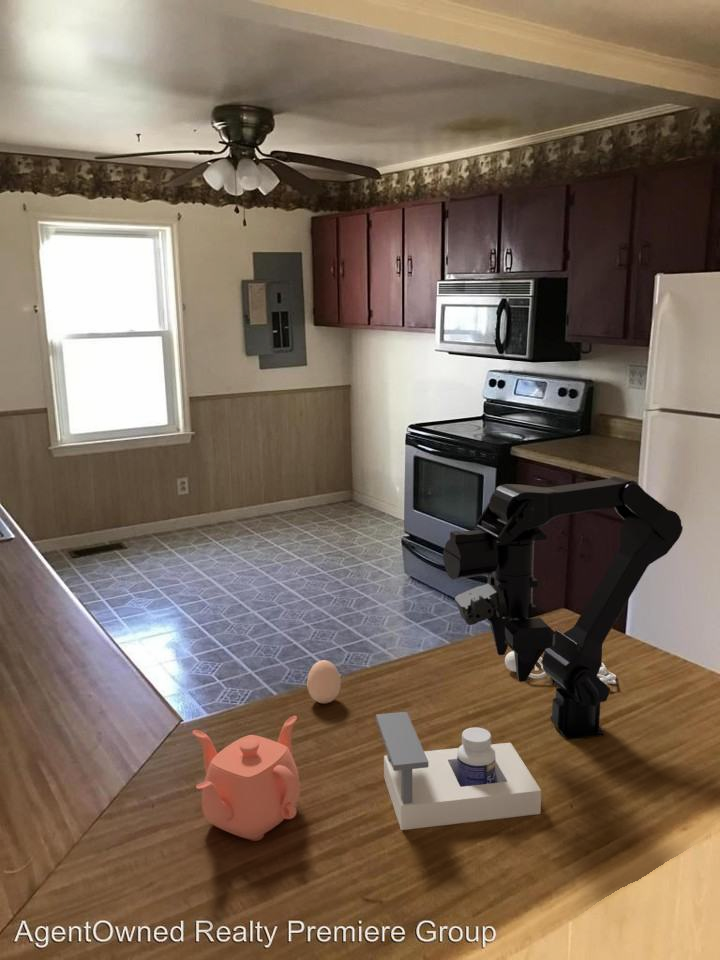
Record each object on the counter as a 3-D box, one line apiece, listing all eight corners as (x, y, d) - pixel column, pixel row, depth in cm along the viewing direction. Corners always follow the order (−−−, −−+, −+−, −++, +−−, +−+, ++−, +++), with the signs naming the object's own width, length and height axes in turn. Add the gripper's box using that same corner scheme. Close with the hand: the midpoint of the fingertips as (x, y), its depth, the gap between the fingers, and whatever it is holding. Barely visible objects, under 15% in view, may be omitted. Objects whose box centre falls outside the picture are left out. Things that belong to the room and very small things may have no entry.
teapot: (201, 863, 97) (195, 783, 95) (197, 795, 111) (191, 724, 108) (316, 842, 100) (313, 765, 98) (299, 779, 114) (296, 710, 112)
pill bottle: (493, 805, 107) (494, 746, 105) (455, 801, 108) (455, 742, 106) (496, 783, 112) (496, 726, 110) (459, 779, 113) (459, 723, 111)
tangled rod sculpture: (626, 677, 147) (628, 655, 146) (604, 703, 135) (607, 680, 134) (527, 651, 157) (528, 631, 156) (498, 674, 145) (500, 652, 144)
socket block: (508, 762, 117) (510, 701, 115) (541, 816, 105) (544, 749, 103) (376, 776, 114) (375, 714, 112) (394, 833, 102) (393, 765, 100)
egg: (330, 713, 133) (329, 671, 131) (301, 705, 135) (300, 664, 134) (347, 698, 137) (346, 657, 136) (318, 691, 140) (317, 651, 139)
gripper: (444, 554, 125) (443, 646, 128) (480, 596, 107) (478, 701, 110) (511, 550, 126) (509, 641, 130) (558, 590, 108) (554, 694, 112)
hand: (511, 667), depth 120 cm, fingers open, 9 cm apart
